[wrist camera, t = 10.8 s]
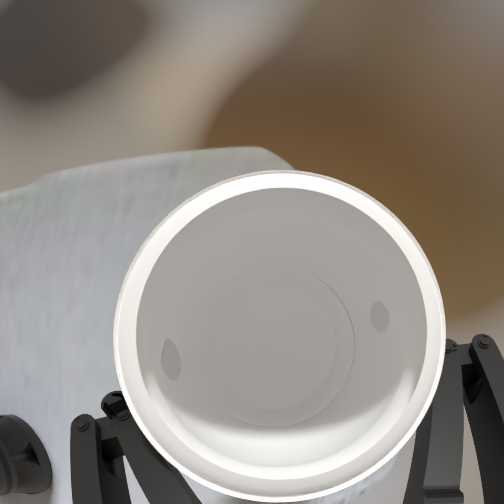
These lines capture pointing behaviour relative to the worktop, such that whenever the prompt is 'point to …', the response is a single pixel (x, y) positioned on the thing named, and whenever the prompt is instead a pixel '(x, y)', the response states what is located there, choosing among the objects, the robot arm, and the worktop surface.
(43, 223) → the worktop surface
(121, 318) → the white tapered cylinder
